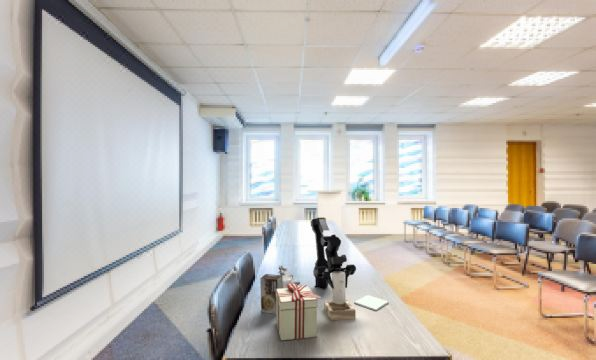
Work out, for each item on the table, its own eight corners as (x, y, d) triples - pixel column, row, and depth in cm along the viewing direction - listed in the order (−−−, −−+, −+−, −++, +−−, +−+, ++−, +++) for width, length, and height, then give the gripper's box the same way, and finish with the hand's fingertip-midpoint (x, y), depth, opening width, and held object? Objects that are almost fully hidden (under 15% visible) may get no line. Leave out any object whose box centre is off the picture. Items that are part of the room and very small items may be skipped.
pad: (354, 303, 143) (354, 301, 143) (367, 296, 151) (367, 294, 151) (375, 311, 135) (375, 309, 135) (388, 303, 143) (388, 301, 143)
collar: (324, 309, 137) (324, 301, 137) (347, 307, 139) (346, 299, 139) (330, 320, 126) (330, 312, 126) (355, 318, 128) (355, 310, 128)
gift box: (327, 335, 114) (326, 291, 114) (281, 343, 109) (280, 298, 109) (312, 316, 130) (312, 278, 131) (272, 322, 125) (272, 282, 125)
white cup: (277, 294, 156) (276, 276, 156) (291, 293, 157) (291, 275, 157) (277, 300, 148) (277, 281, 148) (292, 299, 149) (292, 280, 149)
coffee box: (283, 308, 139) (283, 275, 139) (278, 314, 133) (277, 279, 133) (266, 306, 142) (265, 273, 142) (260, 311, 136) (259, 277, 136)
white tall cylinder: (330, 299, 135) (330, 271, 135) (343, 298, 136) (342, 270, 136) (336, 306, 127) (335, 277, 127) (349, 305, 128) (348, 276, 128)
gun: (270, 265, 203) (283, 262, 206) (270, 269, 203) (284, 267, 206) (283, 282, 168) (299, 279, 171) (284, 288, 168) (300, 285, 171)
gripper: (316, 249, 135) (322, 281, 124) (354, 247, 138) (363, 278, 127) (313, 261, 143) (318, 292, 132) (349, 259, 146) (357, 289, 135)
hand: (339, 288), depth 131 cm, fingers closed on white tall cylinder, 6 cm apart
